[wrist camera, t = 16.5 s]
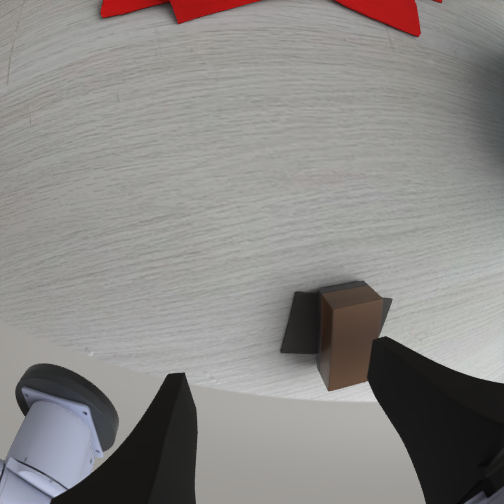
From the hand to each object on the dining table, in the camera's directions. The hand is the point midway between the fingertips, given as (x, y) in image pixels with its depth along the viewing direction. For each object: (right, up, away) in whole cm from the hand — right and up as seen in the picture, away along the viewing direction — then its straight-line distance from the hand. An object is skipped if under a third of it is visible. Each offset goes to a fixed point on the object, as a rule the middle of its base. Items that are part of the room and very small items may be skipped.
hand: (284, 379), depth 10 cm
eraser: (+5, -1, +11) cm, 12 cm away
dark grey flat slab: (+5, -1, +11) cm, 12 cm away
